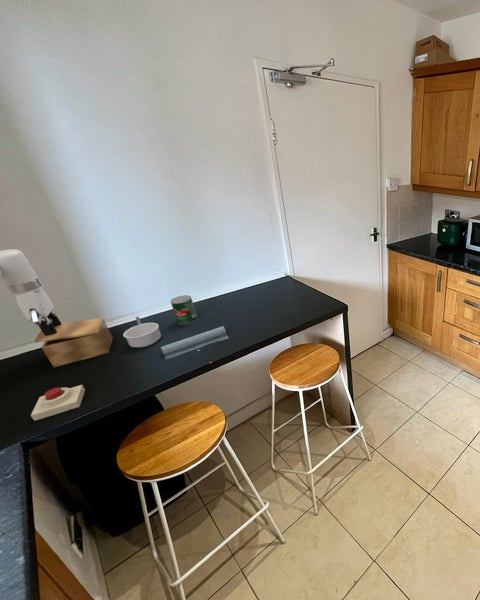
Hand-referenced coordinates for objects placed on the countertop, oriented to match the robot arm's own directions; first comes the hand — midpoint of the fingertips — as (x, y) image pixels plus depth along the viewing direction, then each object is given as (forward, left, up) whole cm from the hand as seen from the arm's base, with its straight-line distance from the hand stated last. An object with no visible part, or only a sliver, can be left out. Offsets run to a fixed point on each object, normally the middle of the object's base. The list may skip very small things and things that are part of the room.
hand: (53, 329), depth 115 cm
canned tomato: (+40, +5, -12) cm, 42 cm away
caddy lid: (+4, 0, -2) cm, 5 cm away
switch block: (+4, -33, -12) cm, 35 cm away
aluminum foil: (+42, -20, -12) cm, 48 cm away
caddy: (+5, 0, -12) cm, 13 cm away
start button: (+4, -33, -8) cm, 34 cm away
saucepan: (+24, -1, -12) cm, 27 cm away
